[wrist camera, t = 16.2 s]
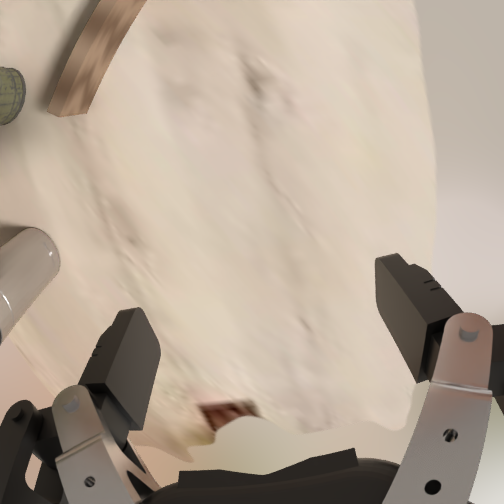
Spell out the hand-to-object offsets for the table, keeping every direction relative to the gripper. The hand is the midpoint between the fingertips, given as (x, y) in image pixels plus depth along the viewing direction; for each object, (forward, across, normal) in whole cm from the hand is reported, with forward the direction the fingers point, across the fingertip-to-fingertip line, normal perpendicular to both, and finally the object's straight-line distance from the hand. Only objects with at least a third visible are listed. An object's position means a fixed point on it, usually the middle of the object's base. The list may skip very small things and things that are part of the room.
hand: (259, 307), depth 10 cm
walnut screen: (+30, +11, -20) cm, 38 cm away
